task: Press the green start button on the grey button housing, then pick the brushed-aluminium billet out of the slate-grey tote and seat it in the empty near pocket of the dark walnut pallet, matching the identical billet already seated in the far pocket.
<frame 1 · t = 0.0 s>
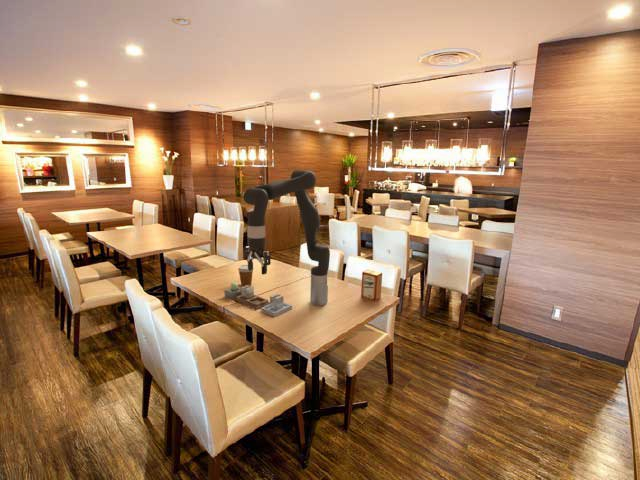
hand: (257, 272, 142), 29 cm above the table, fingers open, 8 cm apart
disposable coffee cup: (246, 285, 208), on the table
baking soda box: (370, 297, 193), on the table
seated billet: (247, 299, 183), point 1 cm above the table, touching pallet
billet: (276, 308, 173), point 1 cm above the table, touching tote
start button: (234, 286, 187), point 6 cm above the table, slide at 0.0 cm
pallet: (252, 302, 181), on the table
grey button housing: (234, 296, 189), on the table
tote: (276, 309, 173), on the table
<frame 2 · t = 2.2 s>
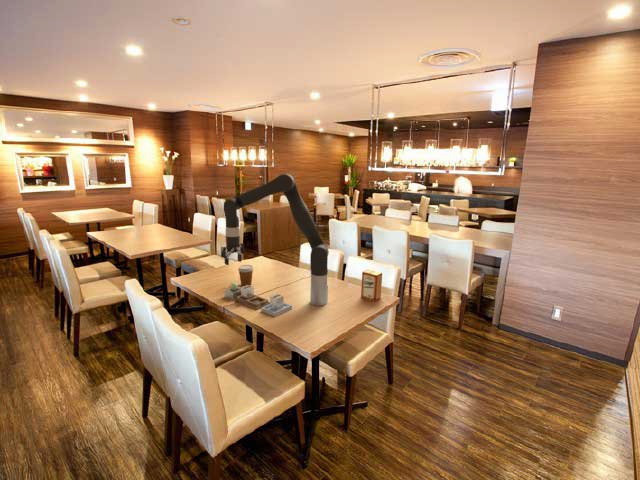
hand: (233, 263, 182), 21 cm above the table, fingers open, 8 cm apart
nothing on the table moved.
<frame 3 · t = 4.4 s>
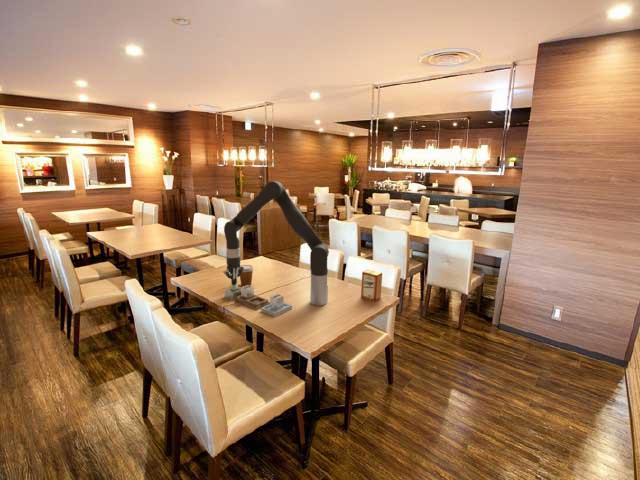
hand: (234, 284, 187), 7 cm above the table, fingers closed
start button: (234, 288, 188), point 5 cm above the table, slide at 0.8 cm, touching gripper
everything else where it was.
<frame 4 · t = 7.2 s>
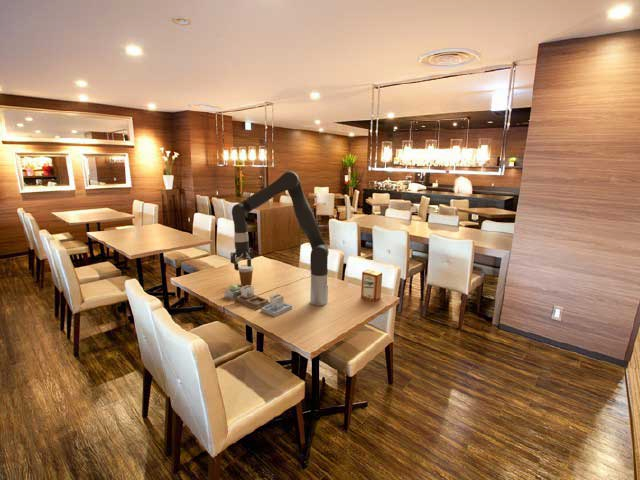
hand: (243, 268, 182), 18 cm above the table, fingers open, 8 cm apart
start button: (234, 289, 188), point 5 cm above the table, slide at 1.5 cm
everything else where it was.
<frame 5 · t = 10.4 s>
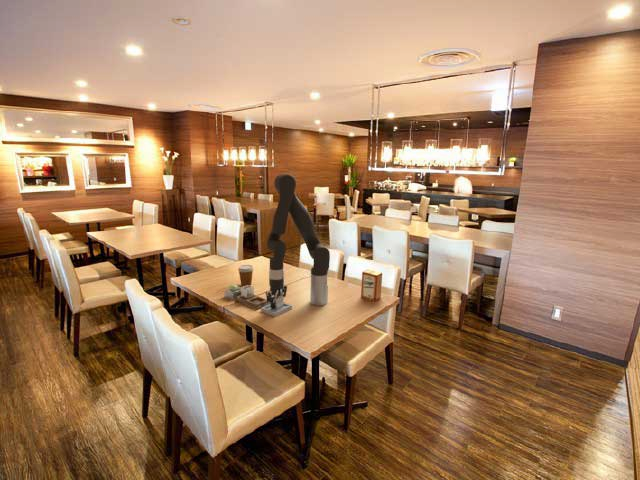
hand: (276, 306, 173), 2 cm above the table, fingers closed on billet, 5 cm apart
billet: (276, 308, 173), point 1 cm above the table, touching gripper, tote
everything else where it was.
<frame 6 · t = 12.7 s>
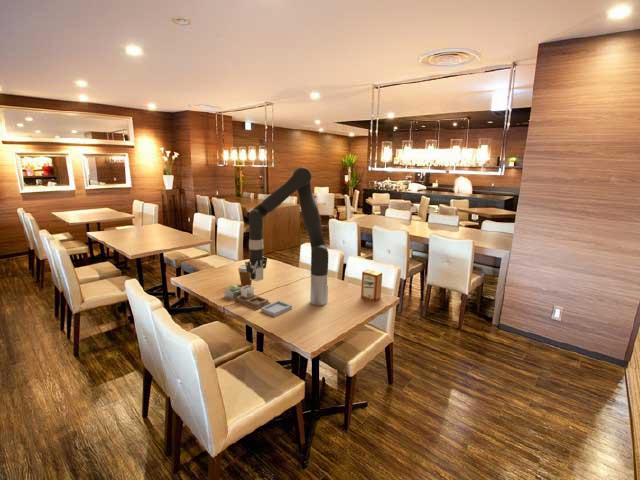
hand: (256, 277, 175), 16 cm above the table, fingers closed on billet, 5 cm apart
billet: (256, 279, 176), point 15 cm above the table, touching gripper
everything else where it was.
when the fingers open (3 cm above the table, at t = 15.5 s): billet stays where it is, resting on pallet.
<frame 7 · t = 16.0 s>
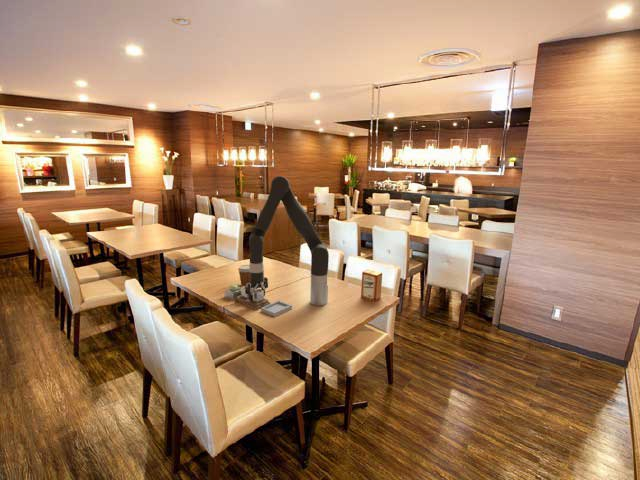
hand: (257, 298, 178), 4 cm above the table, fingers open, 8 cm apart
billet: (257, 302, 179), point 1 cm above the table, touching pallet
everything else where it was.
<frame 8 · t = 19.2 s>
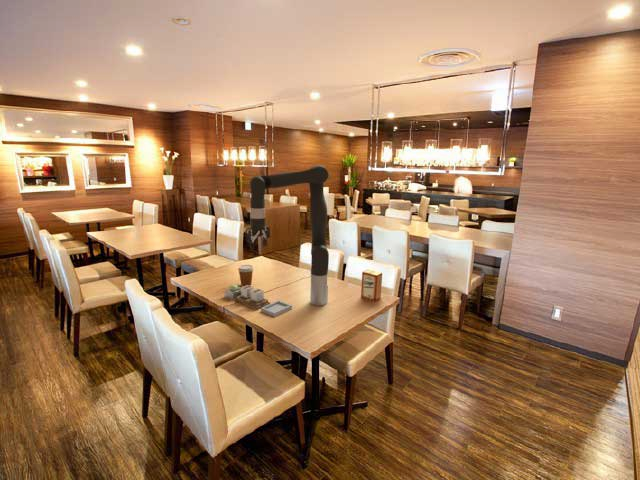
hand: (258, 248, 168), 33 cm above the table, fingers open, 8 cm apart
nothing on the table moved.
at the end: billet 0.1 cm from the target spot on the pallet, point 1.0 cm above the pallet's base; billet tilted 0°; start button slide at 1.5 cm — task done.
